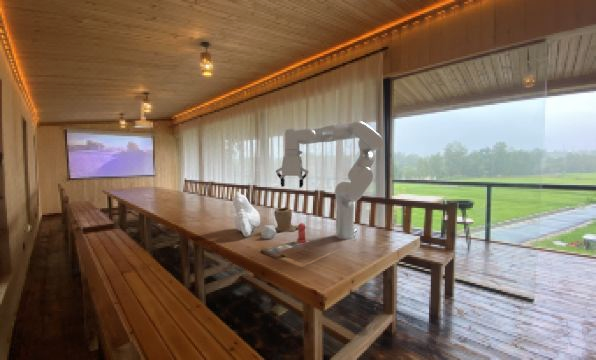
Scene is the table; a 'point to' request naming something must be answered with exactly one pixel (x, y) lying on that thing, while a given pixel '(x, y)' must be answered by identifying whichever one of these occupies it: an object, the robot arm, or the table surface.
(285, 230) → the stone cup
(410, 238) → the table surface
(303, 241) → the pawn
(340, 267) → the table surface
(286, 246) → the board
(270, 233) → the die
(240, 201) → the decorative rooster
